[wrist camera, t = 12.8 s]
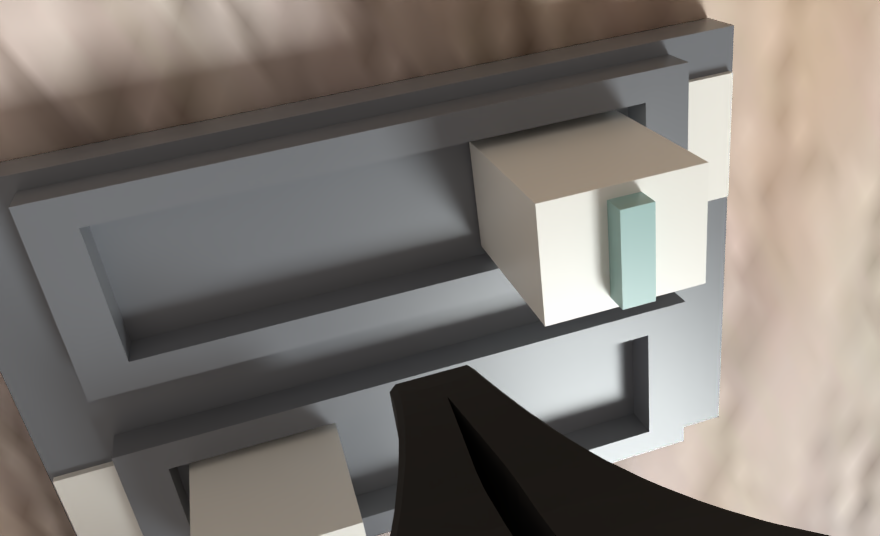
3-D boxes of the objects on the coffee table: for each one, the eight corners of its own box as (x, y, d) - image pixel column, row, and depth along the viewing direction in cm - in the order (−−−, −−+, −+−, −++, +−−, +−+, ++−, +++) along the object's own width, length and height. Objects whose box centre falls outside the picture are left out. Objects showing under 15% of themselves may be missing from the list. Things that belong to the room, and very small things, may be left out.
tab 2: (616, 212, 23) (720, 295, 19) (481, 246, 22) (555, 340, 18) (613, 108, 22) (724, 171, 17) (468, 140, 21) (546, 214, 16)
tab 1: (351, 491, 25) (388, 628, 20) (216, 531, 24) (225, 682, 19) (332, 412, 23) (368, 540, 19) (188, 451, 22) (191, 595, 18)
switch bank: (698, 396, 29) (736, 434, 27) (110, 572, 25) (104, 630, 23) (708, 17, 23) (756, 31, 21) (-68, 175, 19) (-96, 210, 17)
